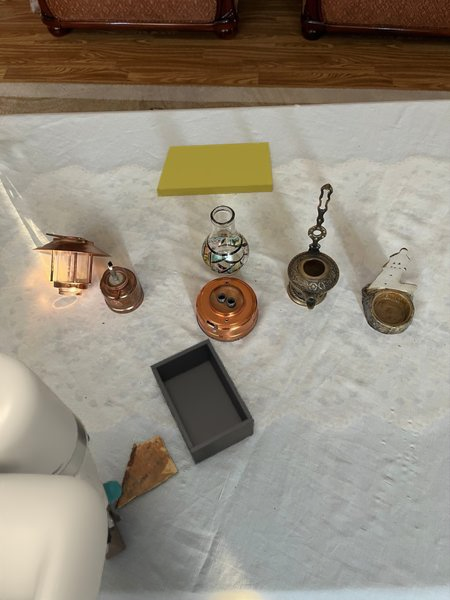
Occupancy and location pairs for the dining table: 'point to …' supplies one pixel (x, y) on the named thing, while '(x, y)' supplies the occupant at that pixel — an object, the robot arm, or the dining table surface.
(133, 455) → the shard
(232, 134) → the dining table surface
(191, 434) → the bin
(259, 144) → the flat olive board
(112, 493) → the rod
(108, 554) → the stand
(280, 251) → the dining table surface
